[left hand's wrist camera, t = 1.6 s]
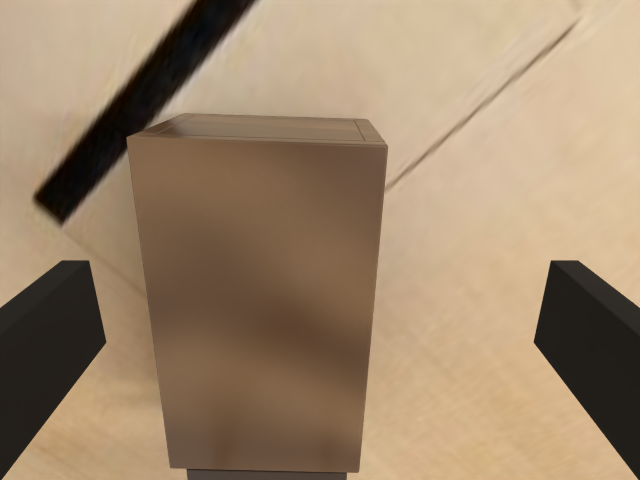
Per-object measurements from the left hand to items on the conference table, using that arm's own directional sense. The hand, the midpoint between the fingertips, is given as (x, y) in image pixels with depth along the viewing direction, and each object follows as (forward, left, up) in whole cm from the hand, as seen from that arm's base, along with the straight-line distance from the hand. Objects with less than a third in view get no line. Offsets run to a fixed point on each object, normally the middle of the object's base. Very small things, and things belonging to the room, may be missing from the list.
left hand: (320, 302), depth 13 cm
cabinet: (+6, -4, -17) cm, 18 cm away
